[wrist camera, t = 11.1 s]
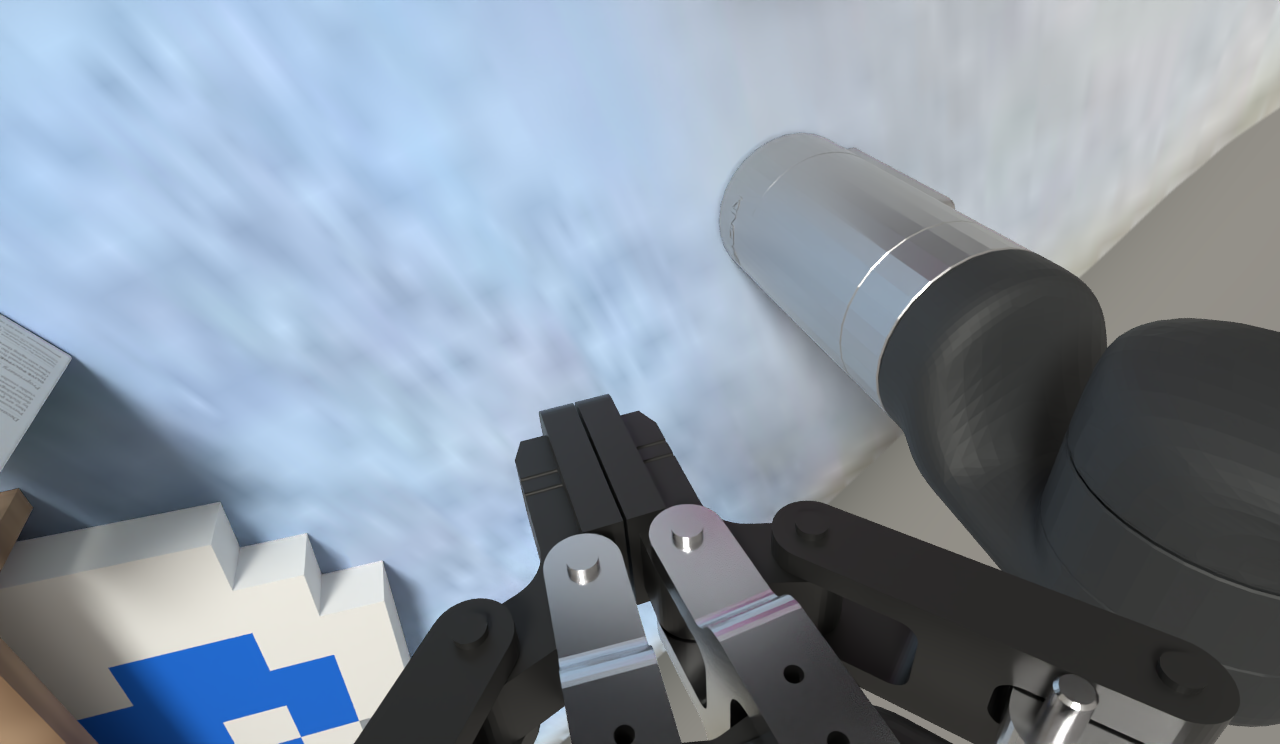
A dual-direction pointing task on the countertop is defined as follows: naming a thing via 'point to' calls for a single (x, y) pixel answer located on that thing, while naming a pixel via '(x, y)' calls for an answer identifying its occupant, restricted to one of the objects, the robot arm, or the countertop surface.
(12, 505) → the walnut shelf
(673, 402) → the countertop surface
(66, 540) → the pixel art tile
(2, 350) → the skincare box
